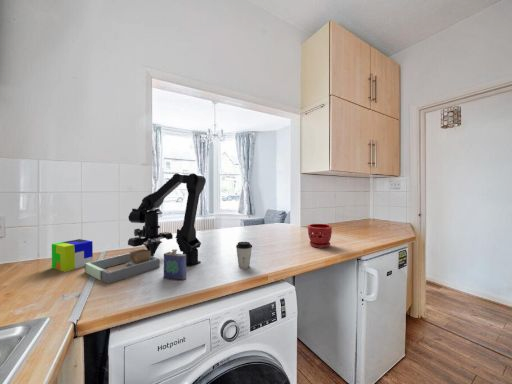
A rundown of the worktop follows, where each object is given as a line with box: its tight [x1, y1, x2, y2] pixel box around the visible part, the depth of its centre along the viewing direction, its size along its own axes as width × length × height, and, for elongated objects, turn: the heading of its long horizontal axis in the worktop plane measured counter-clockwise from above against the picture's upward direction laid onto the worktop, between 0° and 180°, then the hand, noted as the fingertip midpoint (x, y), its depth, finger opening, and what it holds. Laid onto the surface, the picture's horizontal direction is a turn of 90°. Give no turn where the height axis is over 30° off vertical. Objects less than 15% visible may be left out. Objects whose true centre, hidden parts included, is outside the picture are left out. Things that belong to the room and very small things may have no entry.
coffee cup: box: [235, 241, 253, 269], centre depth 93 cm, size 7×7×10 cm
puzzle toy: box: [51, 238, 94, 273], centre depth 94 cm, size 10×10×10 cm
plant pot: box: [307, 223, 333, 249], centre depth 127 cm, size 13×13×12 cm
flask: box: [163, 248, 187, 281], centre depth 81 cm, size 9×3×11 cm, turn 74°
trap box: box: [84, 252, 161, 284], centre depth 90 cm, size 19×20×4 cm
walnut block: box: [129, 248, 151, 264], centre depth 98 cm, size 6×6×5 cm
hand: (151, 257), depth 102 cm, fingers closed
